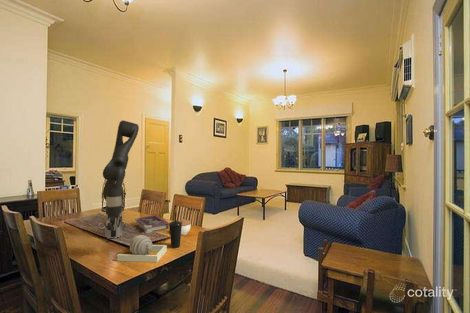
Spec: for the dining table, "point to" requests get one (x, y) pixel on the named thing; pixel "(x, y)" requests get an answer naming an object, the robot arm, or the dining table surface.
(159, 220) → the book
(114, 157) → the robot arm
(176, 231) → the drinking cup
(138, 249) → the grey ridged rounded piece
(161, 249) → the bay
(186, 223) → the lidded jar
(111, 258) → the dining table surface
